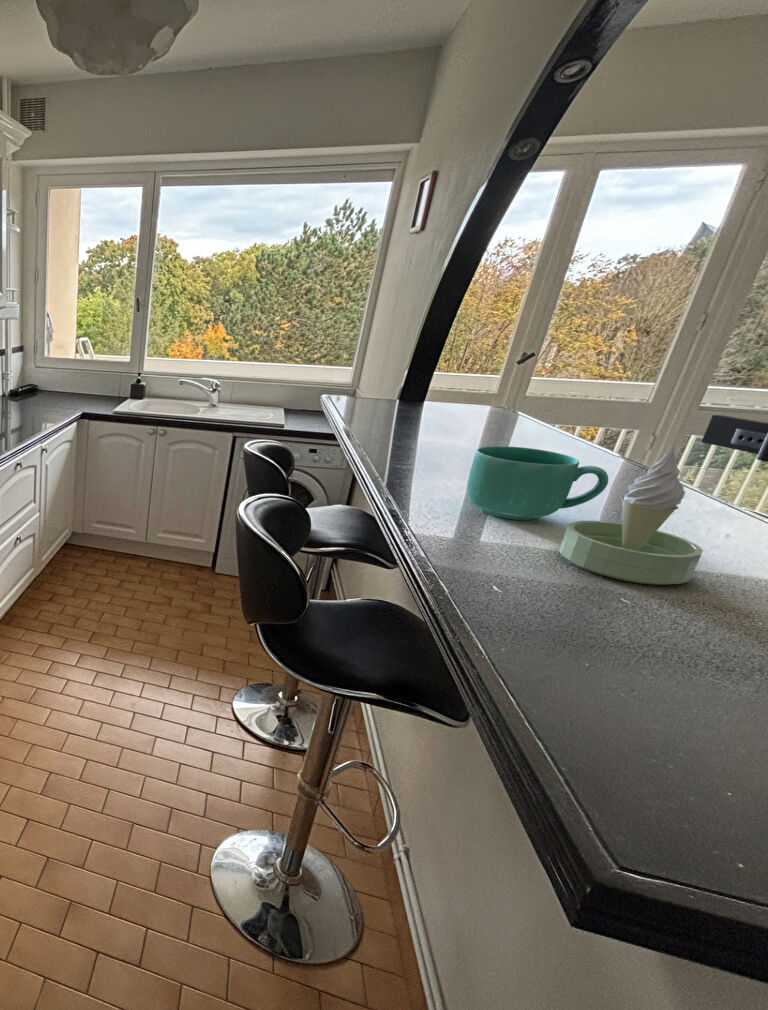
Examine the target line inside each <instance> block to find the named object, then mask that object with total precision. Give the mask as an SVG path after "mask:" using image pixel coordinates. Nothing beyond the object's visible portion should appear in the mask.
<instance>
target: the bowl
mask: <svg viewBox="0 0 768 1010" xmlns="http://www.w3.org/2000/svg"><path fill="white" fill-rule="evenodd" d="M703 552H704V551H703V549H702V548H701V547H700V546H699V545H698V544H696V543H694V542H692V541H691V540H688V539H686V538H684V537H680V536H677V535H674V534H672V533H668V532H664V531H661V530H657V531H656V532H655V533H654V534H653V535H652V536H651V538H650V539H649V540H648V541H647V542H646V543H645V545H644V546H643V547H642V548H641V549H640V550H639V551H634V550H629V549H625V548H622V522H616V521H615V522H614V521H606V520H605V521H604V520H577V521H574V522H571V523H570V524H568V525H567V527H566V530H565V532H564V536H563V538H562V541H561V543H560V547H559V553H560V555H561V556H562V557H563V558H565V559H566V560H567V561H569V562H570V563H572V564H573V565H576V566H578V567H580V568H582V569H584V570H585V571H588V572H591V573H595V574H597V575H600V576H604V577H607V578H610V579H611V578H612V579H616V580H619V581H625V582H630V583H635V584H642V585H643V584H644V585H651V586H652V585H653V586H655V585H656V586H667V585H668V586H669V585H679V584H680V585H681V584H684V583H688V582H690V580H691V578H692V576H693V574H694V572H695V570H696V567H697V565H698V563H699V561H700V559H701V556H702V555H703Z"/></svg>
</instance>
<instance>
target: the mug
mask: <svg viewBox="0 0 768 1010" xmlns="http://www.w3.org/2000/svg"><path fill="white" fill-rule="evenodd" d="M579 465H580V461H579V460H578V459H577V458H575V457H573V456H571V455H568V454H564V453H559V452H555V451H550V450H544V449H538V448H530V447H522V446H506V445H505V446H503V445H493V446H483V447H478V448H477V449H476V450H475V452H474V455H473V459H472V462H471V466H470V470H469V474H468V477H467V483H466V495H467V497H468V499H469V500H470V501H471V503H472V504H474V505H475V506H476V507H477V508H478V509H479V508H480V510H481V511H482V512H483V513H486V514H487V515H490V516H494V517H497V518H502V519H507V520H515V521H532V520H535V519H538V518H542V517H546V516H549V515H552V514H554V513H556V512H557V511H559V510H562V509H568V508H573V507H576V506H579V505H582V504H585V503H587V502H589V501H591V500H593V499H595V498H597V496H599V495H600V494H601V493H602V492H604V491H605V490H606V488H607V486H608V484H609V475H608V473H607V472H606V471H605V469H603V468H601V467H599V466H596V465H584V466H580V467H579ZM587 474H592V475H596V476H597V482H596V484H595V485H594V486H593V487H592V488H591V489H589V490H588V491H586V492H584V493H582V494H579V495H577V496H573V497H568V496H569V494H570V491H571V489H572V486H573V483H574V482H577V481H578V480H579V479H580V478H581V477H582V476H583V475H587Z"/></svg>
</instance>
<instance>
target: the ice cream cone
mask: <svg viewBox="0 0 768 1010" xmlns="http://www.w3.org/2000/svg"><path fill="white" fill-rule="evenodd" d="M680 472H681V471H680V469H679V468H678V465H677V459H676V453H675V446H672V447H671V448H670V449H669V450H668V451H667V452H666V453H665V454H664V455H663V456H662V457H661V458H660V459H659V460H658V461H657V462H655V463H654V464H653V465H651V466H650V467H649V468H648V469H647V474H645V475H642V476H640V477H637V478H634V481H633V482H634V483H631V484H628V486H627V490H628V492H627V493H625V495H624V496H622V497H621V501H622V510H621V523H622V548H625V549H629V550H634V551H639V550H640V549H641V548H642V547H643V546H644V545H645V543H646V542H647V541H648V540H649V539H650V538H651V536H652V535H653V534H654V533H655V532H656V531H659V529H660V528H661V527H662V525H663V524H664V523H665V522H666V521H667V520H668V519H669V518H670V516H671V515H672V514H673V513H675V510H678V509H679V506H678V505H680V504H681V503H682V500H683V499H684V497H685V495H686V491H685V490H684V489H685V487H684V486H683V484H682V483H681V482H680V481H679V478H678V476H679V475H680Z"/></svg>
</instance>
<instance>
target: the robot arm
mask: <svg viewBox="0 0 768 1010" xmlns="http://www.w3.org/2000/svg"><path fill="white" fill-rule="evenodd" d="M701 443H703V444H708V445H712V446H717V447H723V448H726V449H732V450H736V451H741V452H745V453H751V454H755V455H756V458H755V459H756V460H758V461H761V462H765V463H768V422H764V421H759V420H753V419H747V418H742V417H741V418H740V417H734V416H728V415H722V414H712V416H711V417H710V420H709V423H708V425H707V427H706V430H705V432H704V434H703V436H702V438H701Z"/></svg>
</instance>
